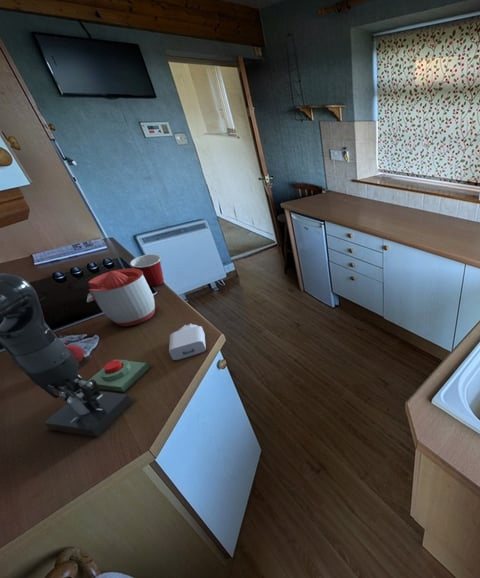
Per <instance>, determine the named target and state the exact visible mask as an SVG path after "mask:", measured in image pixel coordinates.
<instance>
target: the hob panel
mask: <svg viewBox="0 0 480 578" xmlns="http://www.w3.org/2000/svg"><path fill="white" fill-rule="evenodd" d="M99 391H100V390H99ZM95 399H96V400H97V401H98V402H99V404H100V406H99V407H98V408H97V409H96V410H95V411H94V412H89V413H87V414H84V415H78V414H77V413H76V412H75V411H74V410H73V409H72V408H71V407H70V406H69V405H68V403H67V402H66V404H65V405H63V406H62V407H61V408H60V409H58V411H56V412H55V413H54V414H52V415H51V416H50V417H49V418H47V419H46V420H45V421H44V422H43V424H44V425H45V426H46V427H47V428H48V429H49V430H50V431H56V432H63V433H68V434H69V433H70V434H76V435H82V436H83V435H84V436H90V437H95V438H98V437H99V436H100V435H102V433H103V432H104V431H105V430H107V428H108V427H109V426H110V425H111V424H112V423H113V422H114V421H115V420H117V418H118V417H119V416H120V415H121V414H122V413H123V412H124V411H125V410H126V409H127V408H128V407H129V406H130V405H131V404H132V403H133V400H132V398H130V396H129V395H128V394H126V393H118V392H117V393H116V392H111V391H110V392H109V391H102V390H101V391H100V395H99V396H97V397H96V398H95Z"/></svg>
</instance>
